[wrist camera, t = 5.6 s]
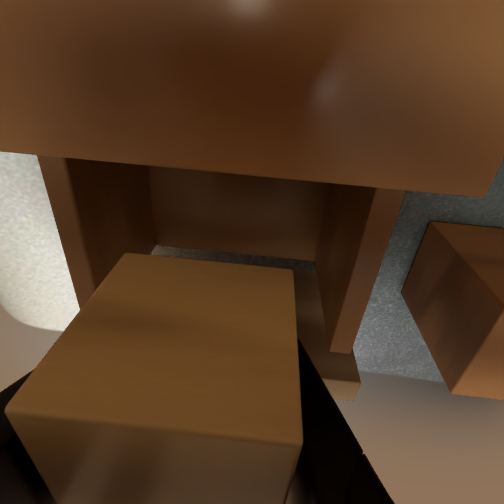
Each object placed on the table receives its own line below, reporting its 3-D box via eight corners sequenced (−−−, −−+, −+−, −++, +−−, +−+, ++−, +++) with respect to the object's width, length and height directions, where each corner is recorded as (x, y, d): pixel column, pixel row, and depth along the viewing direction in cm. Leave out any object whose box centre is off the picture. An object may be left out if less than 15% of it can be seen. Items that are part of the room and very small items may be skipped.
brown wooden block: (482, 301, 20) (567, 407, 14) (400, 293, 20) (450, 394, 14) (524, 230, 17) (651, 323, 11) (429, 220, 17) (506, 308, 11)
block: (275, 378, 11) (272, 555, 7) (142, 363, 11) (68, 529, 7) (293, 268, 8) (305, 445, 5) (124, 250, 9) (-2, 410, 5)
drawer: (318, 337, 21) (333, 454, 15) (148, 319, 22) (94, 426, 15) (395, 36, 13) (507, 22, 6) (107, 12, 13) (-55, -24, 7)
